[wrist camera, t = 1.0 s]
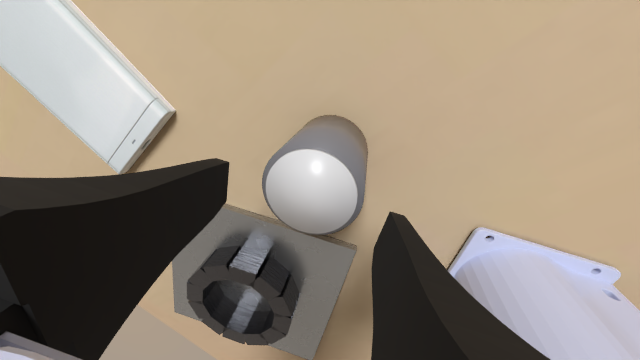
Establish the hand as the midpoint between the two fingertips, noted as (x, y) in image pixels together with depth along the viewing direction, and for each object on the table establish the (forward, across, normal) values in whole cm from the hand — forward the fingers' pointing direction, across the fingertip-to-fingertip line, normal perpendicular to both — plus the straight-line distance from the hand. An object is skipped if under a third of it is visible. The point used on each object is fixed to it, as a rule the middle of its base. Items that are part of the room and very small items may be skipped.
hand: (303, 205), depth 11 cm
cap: (+7, 0, 0) cm, 7 cm away
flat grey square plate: (+7, +4, +15) cm, 17 cm away
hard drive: (+8, +19, 0) cm, 21 cm away
